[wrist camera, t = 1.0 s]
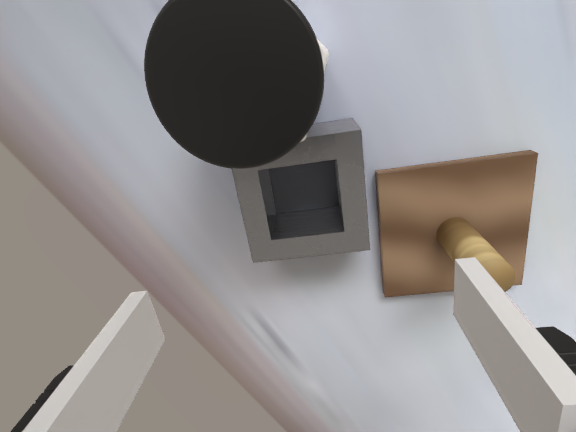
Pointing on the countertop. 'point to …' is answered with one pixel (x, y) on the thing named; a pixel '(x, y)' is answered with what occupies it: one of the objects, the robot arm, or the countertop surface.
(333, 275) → the countertop surface
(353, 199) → the grey hollow block
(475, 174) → the keeper
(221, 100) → the jar
